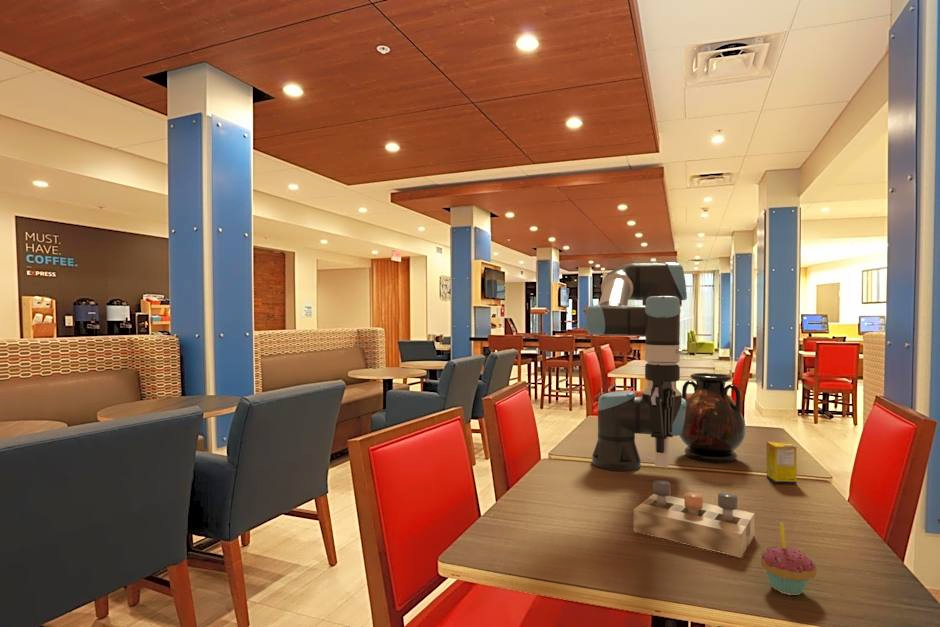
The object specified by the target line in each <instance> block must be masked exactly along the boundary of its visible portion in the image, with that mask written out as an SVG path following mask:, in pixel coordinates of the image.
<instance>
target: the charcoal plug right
mask: <svg viewBox="0 0 940 627" xmlns="http://www.w3.org/2000/svg"><path fill="white" fill-rule="evenodd" d="M738 500H739V499H738V495H736V493H735V494H734V493H731V492H719V493H717V506H719V507H720V508H723V519H724V520H729V521H731V520H733V510H738V507H739V505H738Z"/></svg>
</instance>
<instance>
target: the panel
mask: <svg viewBox="0 0 940 627" xmlns="http://www.w3.org/2000/svg"><path fill="white" fill-rule="evenodd" d="M634 531H637V532H640V533H639V534H641V533H645V534H649V535H653V536H657V537H662V538H666V539H670V540H674V541H678V542H682V543H686V544H690V545H694V546H699V547H703V548H707V549H711V550H715V551H720V552H725V553H729V554H733V555H736V556H742V555H743V553H744V551H745V550H746V548H747V546H748V545H749V543H750V541H751V540H752V541H753V539H754V537H755V512H749V511H747V510H746V511H745V510H741V509H736V510H733V520H731V521H729V520H724V519H723V508H720V507H719V506H718V505H715V504H711V503H707V502H706V503H705V502H703V508H702V509H698V516H696V515H692V514H689V508H687V507H685V506H684V498H681V497H676V496H671V495H669V496H666V506H659V505H657V495H656V494H654V493H653V494H650V496H649V497H647V498H646V499H645V500H643V501H642V502H641V503H640V504H638V505H637V506H636V507H634V509H633V532H634ZM637 532H636V533H637ZM645 534H644V535H645ZM649 535H648V536H649ZM653 536H652V537H653ZM753 536H754V537H753ZM752 538H753V539H752ZM752 541H751V542H752ZM750 544H751V543H750ZM749 546H750V545H749ZM749 546H748V547H749ZM747 549H748V548H747ZM746 551H747V550H746ZM744 554H745V553H744ZM743 556H744V555H743Z"/></svg>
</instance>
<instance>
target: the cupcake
mask: <svg viewBox="0 0 940 627" xmlns="http://www.w3.org/2000/svg"><path fill="white" fill-rule="evenodd" d="M779 519H780V521H779V531H780V542H781V546H780V545H777V546H773V547H769V548H766V549H765V550H764V551H762V553H761V558H760V565H761V567H762V568H763V569H764V570H765V572H766V574H767V576H768V579H769V583H770V585H772V586H773V587H774V588H776V589H778V590H780V591H782V592H786V593H790V594H799V593H802V594H803V592H804V589H805V586H806V584H807V582H808V581H809V579H814V578H815V577H816V576H817V567H816V564H815V563H814V561H812V559H811V558H809V557H808V556H807V555H806V554H805V553H803V552H801V551H800V550H797V549H795V548H791V547H789V546H787V545H786V534H785V525H784V522H783V520H782V518H781V517H780V518H779ZM786 546H787V547H786ZM772 586H771V587H772Z"/></svg>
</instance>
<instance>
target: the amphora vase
mask: <svg viewBox="0 0 940 627" xmlns="http://www.w3.org/2000/svg"><path fill="white" fill-rule="evenodd" d="M689 377H690V379H692V380H687V381H685V382H684V384H683V385H682V390H681V399H682V398H683V399H685V400H686V413H685V421H684V426H683V430H682V433H681V434H680V435H678V437H679V438H680V439H681V441H682V442H683V444H685V446H686V447H685V448H684V454H685V455H686V456H687V457H689V458H691V459H693V460H696V459H697V461H700V460H701V462H705V461H708V462H707V463H714V462H726V463H730V462H733V461H736V459H737V458H738V453H737V452H736V450H737V449H738V448H740V446H741V444H742V443H743V442H744V441H745V438H746V436H747V434H746V433H747V427H746V421H745V418H744V416H743V414H742V407H741V406H742V403H741V402H742V396H741V395H742V394H741V390H740V388H739V387H738V386H737V385H735V384H727V386H726V383H727V382H730V381H732V376H731V375H729V374H723V373H714V372H713V373H712V372H698V373H697V372H695V373H692V374H690V376H689ZM689 385H691V386H692V387H693V389H694V390H693V391H694V392H693V393H692V394H691V395H690V396H689V397H688V396H687V394H688V393H687V390H688V387H689ZM729 389H733V390H734V392H735V397H736V399H735V401H734V400H733V399H732V397H730V396H729V394H728V391H729Z"/></svg>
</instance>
